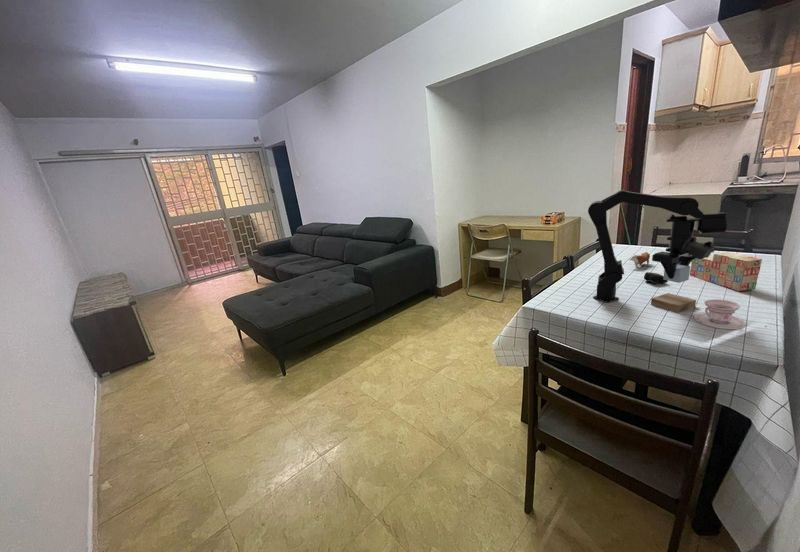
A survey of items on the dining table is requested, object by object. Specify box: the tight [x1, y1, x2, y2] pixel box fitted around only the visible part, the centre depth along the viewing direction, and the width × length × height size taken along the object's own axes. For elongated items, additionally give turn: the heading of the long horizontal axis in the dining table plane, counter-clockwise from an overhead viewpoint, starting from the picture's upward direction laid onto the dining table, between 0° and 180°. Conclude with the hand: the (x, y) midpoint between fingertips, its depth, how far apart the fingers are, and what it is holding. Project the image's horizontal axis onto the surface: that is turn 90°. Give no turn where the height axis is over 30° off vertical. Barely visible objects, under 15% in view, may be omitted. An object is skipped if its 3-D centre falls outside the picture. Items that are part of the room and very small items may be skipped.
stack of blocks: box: [689, 251, 763, 292], centre depth 129 cm, size 21×6×12 cm, turn 2°
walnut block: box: [650, 292, 697, 313], centre depth 115 cm, size 9×9×3 cm
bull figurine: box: [629, 251, 651, 269], centre depth 156 cm, size 4×13×8 cm, turn 115°
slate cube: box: [663, 264, 691, 284], centre depth 112 cm, size 5×5×5 cm
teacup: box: [693, 298, 747, 330], centre depth 101 cm, size 12×12×6 cm
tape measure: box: [643, 271, 669, 284], centre depth 137 cm, size 7×7×4 cm
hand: (675, 277), depth 113 cm, fingers closed on slate cube, 5 cm apart
